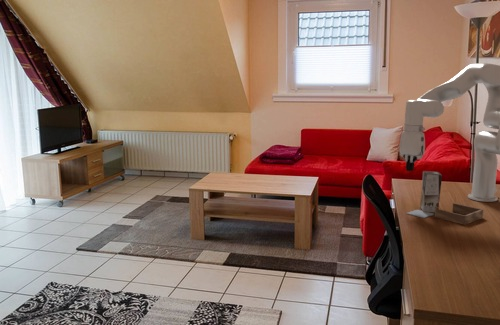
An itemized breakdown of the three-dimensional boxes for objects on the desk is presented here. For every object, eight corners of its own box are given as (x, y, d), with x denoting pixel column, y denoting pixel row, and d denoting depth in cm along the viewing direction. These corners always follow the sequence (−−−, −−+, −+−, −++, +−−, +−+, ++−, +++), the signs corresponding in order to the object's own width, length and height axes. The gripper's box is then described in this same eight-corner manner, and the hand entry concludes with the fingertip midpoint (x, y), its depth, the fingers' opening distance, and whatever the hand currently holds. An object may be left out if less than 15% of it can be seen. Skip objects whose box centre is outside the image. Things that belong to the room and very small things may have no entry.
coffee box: (438, 213, 203) (442, 175, 200) (422, 211, 204) (426, 174, 201) (435, 207, 212) (438, 171, 209) (419, 206, 213) (423, 170, 210)
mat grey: (417, 210, 208) (417, 209, 208) (434, 214, 202) (434, 213, 201) (406, 213, 203) (406, 212, 203) (423, 218, 197) (423, 217, 196)
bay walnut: (453, 211, 207) (453, 203, 206) (482, 218, 197) (483, 209, 197) (434, 217, 198) (435, 208, 197) (464, 224, 188) (465, 216, 188)
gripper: (433, 130, 206) (429, 172, 209) (403, 126, 217) (399, 167, 220) (423, 131, 201) (420, 174, 204) (393, 127, 212) (389, 168, 216)
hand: (409, 170), depth 212 cm, fingers closed
